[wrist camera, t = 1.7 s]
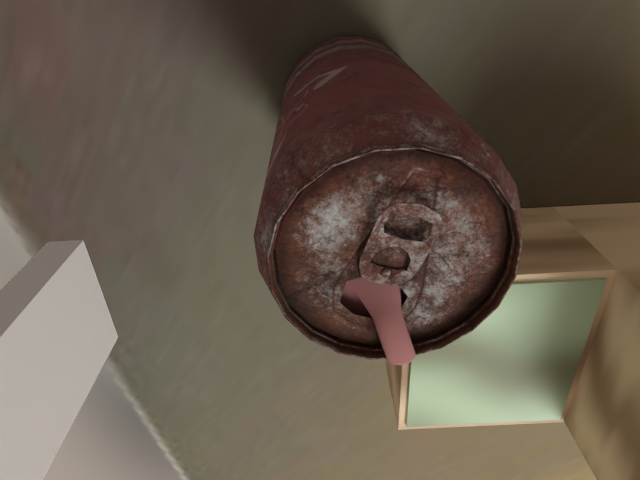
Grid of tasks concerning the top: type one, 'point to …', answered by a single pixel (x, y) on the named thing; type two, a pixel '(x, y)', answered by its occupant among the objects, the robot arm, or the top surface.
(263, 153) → the top surface
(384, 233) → the can
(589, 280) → the stand
